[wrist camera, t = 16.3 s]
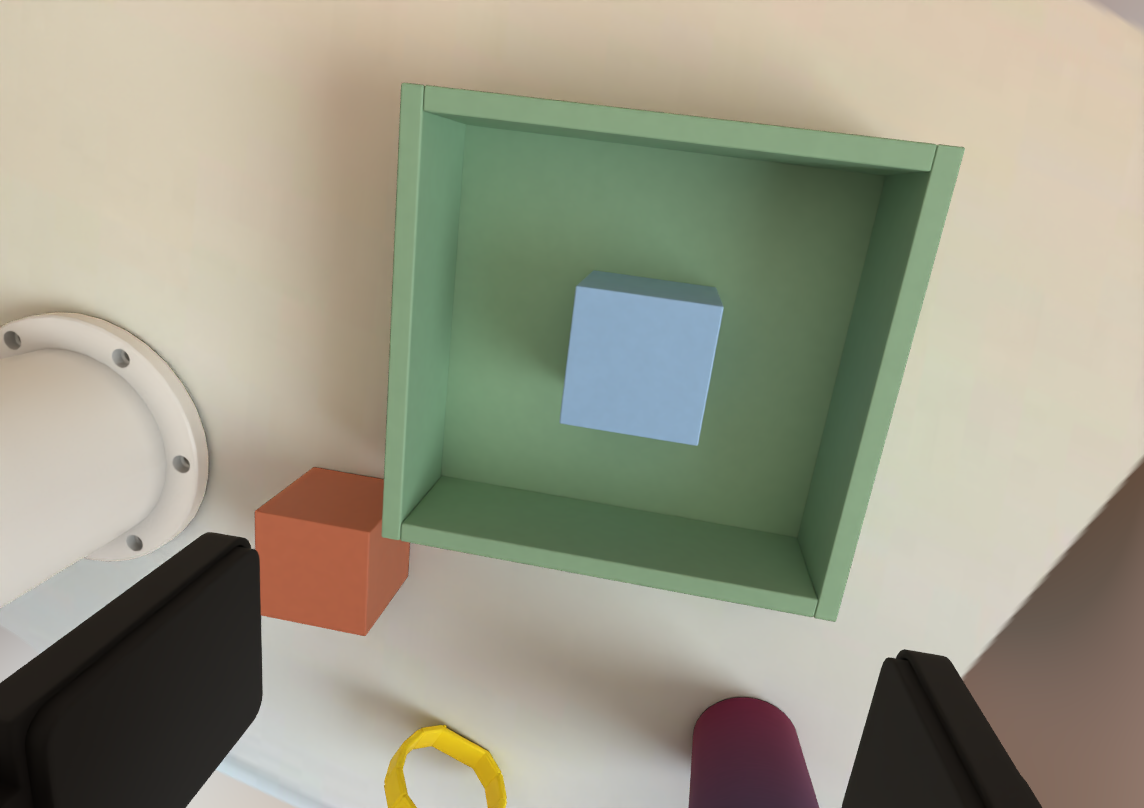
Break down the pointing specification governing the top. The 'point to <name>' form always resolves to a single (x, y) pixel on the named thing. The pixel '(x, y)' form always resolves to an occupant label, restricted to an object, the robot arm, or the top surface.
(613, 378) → the blue block
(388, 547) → the terracotta block
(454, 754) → the watch
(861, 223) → the toy bin
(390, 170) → the top surface
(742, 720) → the cup
